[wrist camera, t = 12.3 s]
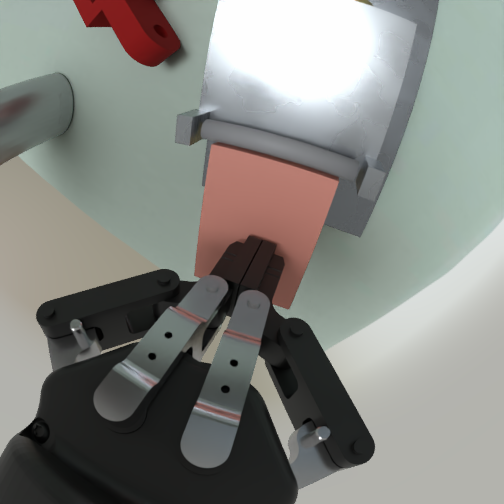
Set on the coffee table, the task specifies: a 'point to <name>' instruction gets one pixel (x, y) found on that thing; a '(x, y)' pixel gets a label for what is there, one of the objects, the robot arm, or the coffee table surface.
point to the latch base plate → (319, 83)
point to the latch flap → (266, 197)
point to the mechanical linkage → (133, 27)
